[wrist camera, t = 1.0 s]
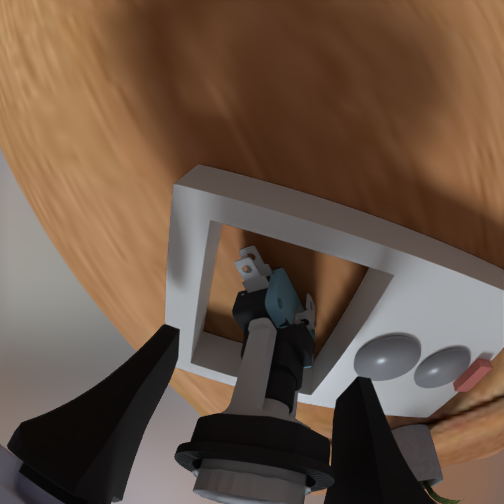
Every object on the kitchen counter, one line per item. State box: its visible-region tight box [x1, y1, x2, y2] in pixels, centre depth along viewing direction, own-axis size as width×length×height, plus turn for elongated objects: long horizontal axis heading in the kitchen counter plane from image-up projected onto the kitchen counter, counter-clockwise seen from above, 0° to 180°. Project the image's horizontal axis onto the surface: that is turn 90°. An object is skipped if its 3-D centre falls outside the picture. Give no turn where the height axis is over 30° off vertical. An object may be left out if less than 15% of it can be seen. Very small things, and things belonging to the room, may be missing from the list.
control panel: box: [165, 164, 504, 418], centre depth 13 cm, size 18×11×3 cm, turn 77°
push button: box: [174, 245, 335, 504], centre depth 11 cm, size 7×5×10 cm
